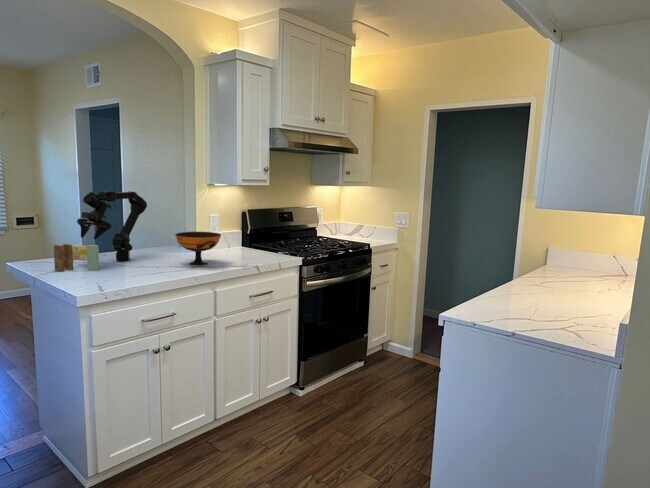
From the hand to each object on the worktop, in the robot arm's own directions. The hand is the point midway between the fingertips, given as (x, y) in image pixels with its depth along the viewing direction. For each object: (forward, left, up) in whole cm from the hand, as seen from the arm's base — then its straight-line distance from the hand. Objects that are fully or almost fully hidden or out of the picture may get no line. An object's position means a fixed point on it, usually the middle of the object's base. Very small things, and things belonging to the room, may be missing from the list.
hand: (88, 238), depth 239 cm
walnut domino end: (+11, +8, -16) cm, 21 cm away
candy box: (+8, -22, -16) cm, 28 cm away
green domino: (-4, +6, -16) cm, 17 cm away
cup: (-56, -11, -16) cm, 59 cm away
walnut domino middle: (+8, +5, -16) cm, 18 cm away
